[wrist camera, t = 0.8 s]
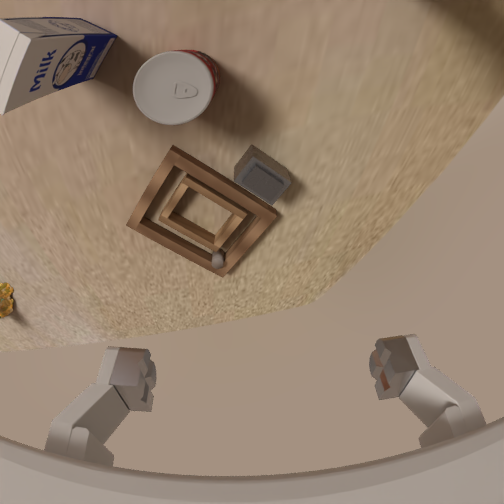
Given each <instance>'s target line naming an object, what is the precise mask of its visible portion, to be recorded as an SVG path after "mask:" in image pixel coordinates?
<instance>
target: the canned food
mask: <svg viewBox="0 0 504 504" xmlns="http://www.w3.org/2000/svg"><path fill="white" fill-rule="evenodd" d="M219 81H220V74H219V70H218V67H217V65H216V64H215V62H214V61H213V60H212V59H211V58H210V57H209V56H208V55H206V54H204V53H202V52H200V51H195V50H173V51H168V52H163V53H160V54H157V55H155V56H154V57H152V58H150V59H149V60H147V61H146V62H145V63H144V64H143V65H142V66H141V68H140V69H139V70H138V72H137V74H136V76H135V79H134V83H133V96H134V100H135V102H136V105H137V106H138V108H139V109H140V111H141V112H142V113H143V114H144V115H145V116H146V117H148V118H149V119H151V120H153V121H155V122H157V123H161V124H165V125H178V124H183V123H186V122H189V121H191V120H193V119H195V118H196V117H198V116H199V115H200V114H201V113H203V112H204V110H205V109H206V108H207V107H208V105H209V104H210V102H211V100H212V98H213V96H214V94H215V92H216V90H217V89H218V86H219Z"/></svg>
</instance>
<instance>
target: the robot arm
mask: <svg viewBox="0 0 504 504" xmlns="http://www.w3.org/2000/svg"><path fill="white" fill-rule="evenodd" d="M375 346H376V350H374V351H373V352H372V353H371V356H370V362H369V367H370V372H371V375H372V377H374V378H375V379H376V380H377V381H376V384H375V388H376V392H377V395H378V398H379V400H383V399H389V398H395V397H399V399H400V400H401V401H402V402H403V403H404V404H405V405H406V406H407V407H408V408H409V409H410V410H411V411H412V412H413V413H414V414H415V415H416V416H417V417H418V418H419V419H420V420H421V421H422V422H423V423H424V424H425V425H426V426H427V427H428V429H427V430H425V431H424V432H423V433H422V434H421V435H420V437H419V441H420V445H421V448H420V449H417V450H414V451H410V452H406V453H403V454H399V455H395V456H391V457H387V458H383V459H378V460H374V461H369V462H365V463H360V464H354V465H349V466H343V467H337V468H331V469H324V470H317V471H309V472H300V473H290V474H278V475H261V476H194V475H178V474H165V473H156V472H147V471H139V470H131V469H125V468H119V467H113V461H114V455H113V454H112V453H111V452H110V451H109V450H108V449H107V448H106V447H105V446H104V445H103V444H104V443H105V442H106V441H107V439H108V438H109V437H110V436H111V434H112V433H113V432H114V431H115V429H116V428H117V427H118V426H119V425H120V423H121V422H122V421H123V420H124V418H125V417H126V416H127V415H128V413H129V412H130V411H129V410H131V411H146V412H151V410H152V404H153V397H154V396H153V394H152V392H151V390H152V389H153V388H154V387H155V384H156V368H155V364H154V362H153V361H151V360H150V356H151V354H150V352H149V350H148V349H139V348H124V347H111V346H108V348H107V349H106V350H105V354H104V357H103V360H102V363H101V367H100V370H99V374H98V377H97V380H96V383H92V384H91V385H90V386H88V387H87V389H85V390H84V391H83V392H82V393H81V394H80V395H79V396H78V397H77V398H76V399H75V400H74V401H72V402H71V403H70V404H69V405H68V406H67V407H66V408H65V409H64V410H63V411H62V412H61V413H60V414H58V415H57V416H56V417H55V418H54V419H53V420H52V424H51V427H50V431H49V434H48V438H47V442H46V445H45V449H44V450H41V449H37V448H34V447H31V446H28V445H25V444H22V443H19V442H16V441H13V440H10V439H8V438H5V437H2V436H0V504H504V417H502V418H500V419H498V420H496V421H494V422H492V423H489V424H487V425H486V422H485V420H484V417H483V415H482V412H481V410H480V407H479V405H478V403H477V400H476V398H475V397H474V396H472V395H471V394H469V393H468V392H467V391H466V390H464V389H463V388H462V387H461V386H459V385H458V384H457V383H455V382H454V381H452V380H451V379H450V378H449V377H447V376H446V375H445V374H443V373H442V372H441V371H440V370H438V369H437V368H436V367H431V365H430V363H429V361H428V358H427V356H426V354H425V352H424V350H423V348H422V346H421V343H420V341H419V339H418V337H417V336H416V335H415V334H410V335H404V336H402V335H401V336H395V337H388V338H381V339H378V340H377V342H376V344H375Z"/></svg>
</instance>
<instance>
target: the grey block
mask: <svg viewBox="0 0 504 504" xmlns="http://www.w3.org/2000/svg"><path fill="white" fill-rule="evenodd" d="M234 181H235V182H236V183H238V184H239V185H241V186H243V187H244V188H246V189H247V190H249V191H250V192H252V193H254V194H255V195H257V196H258V197H260V198H261V199H263V200H264V201H266V202H267V203H269V204H271V205H273V204H274V203H275V202H276V200H277V199H278V198H279V197H280V196H281V195H282V193H283V192H284V191H285V190H286V189H287V188H288V187H289V185H290V184H291V180H290V177H289V174H288V171H287V168H285V167H284V166H282V165H281V164H280V163H278V162H277V161H275V160H274V159H273V158H271V157H270V156H268V155H267V154H265V153H264V152H262V151H261V150H259V149H258V148H257V147H255V146H254V145H251V146H250V147H249V149H248V150H247V151H246V152H245V154H244V155H243V156H242V158H241V159H240V160H239V161H238V163H237V164H236V165H235V167H234Z"/></svg>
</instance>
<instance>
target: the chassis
mask: <svg viewBox="0 0 504 504" xmlns="http://www.w3.org/2000/svg"><path fill="white" fill-rule="evenodd" d="M174 165H175V166H176V167H178V168H180V169H181V170H183V171H185V172H186V175H185V176H184V178H183V179H182V181H181V182H180V184H179V185H178V187H177V188H176V190H175V191H174V193H173V195H172V196H171V198H170V199H169V201H168V202H167V204H166V205H165V207H164V209H163V210H162V212H161V214H160V217H159V219H158V220H159V221H161V222H163V223H164V224H166V225H168V226H170V227H171V228H173V229H175V230H177V231H179V232H180V233H182V234H184V235H186V236H188V237H189V238H191V239H193V240H195V241H197V242H198V243H200V244H202V245H204V246H206V247H207V248H209V249H211V250H213V254H210V253H208V252H206V251H205V250H203V249H201V248H199V247H197V246H195V245H194V244H192V243H190V242H188V241H186V240H185V239H183V238H181V237H179V236H177V235H176V234H174V233H172V232H170V231H168V230H167V229H165V228H163V227H161V226H159V225H158V224H156V223H154V222H152V221H150V220H149V219H147V218H145V217H143V215H144V214H145V212H146V210H147V208H148V207H149V205H150V203H151V202H152V200H153V198H154V197H155V195H156V193H157V192H158V190H159V188H160V187H161V185H162V183H163V182H164V180H165V179H166V177H167V175H168V174H169V172H170V171H171V169H172V168H173V166H174ZM188 187H190V188H192V189H193V190H195V191H197V192H198V193H200V194H202V195H203V196H205V197H207V198H208V199H210V200H212V201H213V202H215V203H217V204H218V205H220V206H222V207H223V208H225V209H227V210H228V211H230V212H232V215H231V216H230V217H229V218H228V220H227V221H226V222H225V224H224V225H223V226H222V227H221V229H220V230H219V231H218V232H217V234H216V235H214V234H212V233H210V232H208V231H207V230H205V229H203V228H201V227H200V226H198V225H196V224H194V223H192V222H191V221H189V220H187V219H185V218H184V217H182V216H180V215H178V214H177V213H175V212H173V211H172V210H173V209H174V207H175V206H176V204H177V203H178V201H179V200H180V198H181V197H182V195H183V194H184V192H185V191H186V189H187V188H188ZM247 210H249V211H250V212H252V213H254V214H255V215H257V216H256V218H255V219H254V220H253V221H252V222H251V223H250V225H249V226H248V227H247V228H246V229H245V231H244V232H243V233H242V234H241V235H240V237H239V238H238V239H237V240H236V241H235V242H234V244H233V245H232V246H231V247H230V248H229V250H228V251H227V252H226V253H225V254H224V251H223V250H222V249H220V247H221V246H222V245H223V243H224V242H225V241H226V240H227V238H228V237H229V236H230V235H231V234H232V232H233V231H234V230H235V229H236V227H237V226H238V225H239V224H240V223H241V221H242V220H243V219H244V218H245V217H246V215H247ZM276 217H277V213H276V209H275V208H273V207H272V206H270V205H268V204H267V203H265V202H264V201H262V200H261V199H259V198H258V197H256V196H255V195H253V194H251V193H250V192H248V191H247V190H245V189H244V188H242V187H240V186H239V185H237V184H236V183H234V182H232V181H231V180H229V179H228V178H226V177H225V176H223V175H221V174H220V173H218V172H216V171H215V170H213V169H212V168H210V167H208V166H207V165H205V164H204V163H202V162H200V161H199V160H197V159H195V158H194V157H192V156H190V155H189V154H187V153H185V152H184V151H182V150H180V149H179V148H177V147H175V146H174V145H172V147H171V148H170V150H169V152H168V153H167V155H166V156H165V158H164V160H163V161H162V163H161V165H160V166H159V168H158V170H157V171H156V173H155V175H154V176H153V178H152V180H151V181H150V183H149V185H148V186H147V188H146V190H145V192H144V193H143V195H142V197H141V199H140V201H139V202H138V204H137V206H136V208H135V210H134V211H133V213H132V215H131V217H130V219H129V221H128V222H127V224H126V226H128V227H130V228H131V229H133V230H135V231H137V232H139V233H141V234H142V235H144V236H146V237H148V238H150V239H151V240H153V241H155V242H157V243H159V244H161V245H162V246H164V247H166V248H168V249H170V250H172V251H174V252H175V253H177V254H179V255H181V256H183V257H185V258H187V259H188V260H190V261H192V262H194V263H196V264H198V265H200V266H202V267H204V268H205V269H207V270H209V271H211V272H213V273H215V274H217V275H219V276H221V277H224V276H225V275H226V273H227V272H228V271H229V270H230V269H231V268H232V267H233V266H234V264H235V263H236V262H237V261H238V260H239V259H240V258H241V256H242V255H243V254H244V253H245V252H246V251H247V250H248V249H249V247H250V246H251V245H252V244H253V243H254V242H255V241H256V239H257V238H258V237H259V236H260V235H261V234H262V233H263V232H264V230H265V229H266V228H267V227H268V226H269V225H270V224H271V222H272V221H273V220H274V219H275V218H276Z"/></svg>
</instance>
